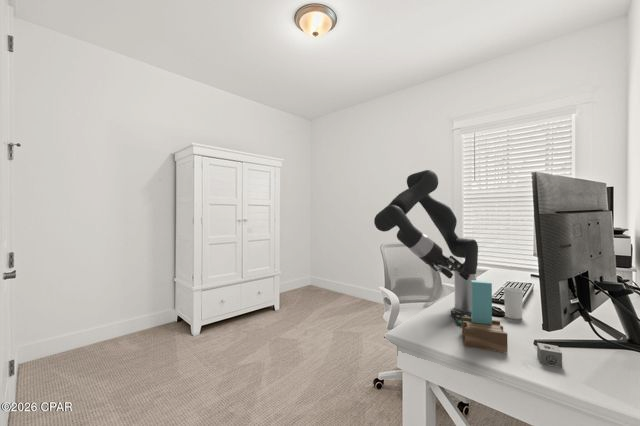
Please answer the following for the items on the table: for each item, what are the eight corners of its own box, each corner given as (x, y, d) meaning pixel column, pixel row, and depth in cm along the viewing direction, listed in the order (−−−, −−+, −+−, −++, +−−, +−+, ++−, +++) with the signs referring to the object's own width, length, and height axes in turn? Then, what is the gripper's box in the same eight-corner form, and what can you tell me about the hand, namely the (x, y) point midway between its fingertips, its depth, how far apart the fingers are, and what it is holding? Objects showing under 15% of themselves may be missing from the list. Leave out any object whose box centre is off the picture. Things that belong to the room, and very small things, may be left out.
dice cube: (537, 358, 88) (537, 342, 88) (557, 362, 86) (557, 346, 86) (540, 366, 84) (540, 349, 84) (562, 370, 82) (562, 353, 82)
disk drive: (449, 316, 126) (458, 329, 112) (449, 310, 126) (457, 322, 112) (475, 318, 124) (487, 331, 110) (475, 312, 124) (487, 324, 110)
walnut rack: (462, 334, 106) (461, 316, 106) (499, 339, 102) (499, 320, 102) (465, 348, 95) (465, 328, 95) (507, 355, 91) (507, 333, 91)
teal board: (471, 335, 104) (471, 280, 104) (490, 337, 101) (490, 281, 101) (472, 338, 101) (472, 281, 101) (492, 341, 99) (491, 283, 99)
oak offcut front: (467, 342, 98) (467, 325, 98) (501, 347, 94) (501, 329, 94) (468, 345, 96) (468, 327, 96) (502, 350, 92) (502, 331, 92)
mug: (526, 320, 120) (525, 291, 120) (508, 319, 121) (508, 290, 121) (514, 312, 130) (514, 285, 130) (498, 311, 131) (498, 285, 131)
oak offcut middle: (466, 339, 100) (466, 322, 100) (500, 344, 96) (499, 326, 96) (467, 342, 98) (467, 324, 98) (501, 347, 94) (501, 328, 94)
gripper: (442, 238, 93) (479, 269, 94) (418, 241, 107) (451, 268, 108) (431, 256, 91) (469, 287, 92) (408, 257, 105) (441, 284, 106)
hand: (459, 277), depth 100 cm, fingers open, 8 cm apart
